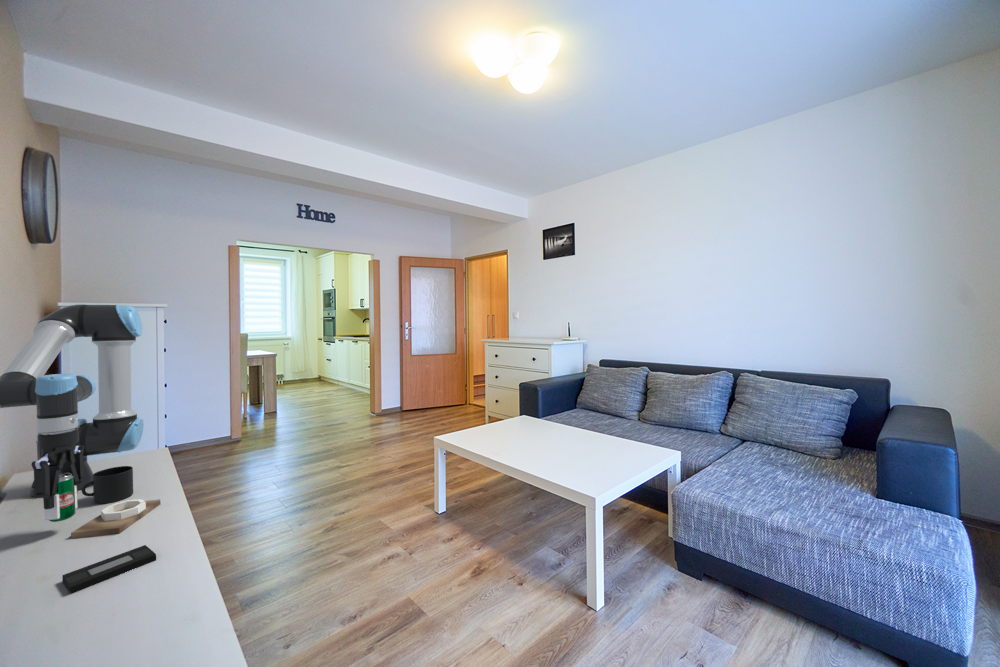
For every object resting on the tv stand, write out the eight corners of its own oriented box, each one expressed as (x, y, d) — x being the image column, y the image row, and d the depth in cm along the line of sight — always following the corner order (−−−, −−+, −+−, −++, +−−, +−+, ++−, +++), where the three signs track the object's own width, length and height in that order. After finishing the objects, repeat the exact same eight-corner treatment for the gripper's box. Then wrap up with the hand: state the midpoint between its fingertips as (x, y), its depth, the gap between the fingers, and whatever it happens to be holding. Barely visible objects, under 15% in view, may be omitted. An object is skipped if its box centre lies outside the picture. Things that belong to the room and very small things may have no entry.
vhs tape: (62, 584, 88) (62, 575, 88) (145, 552, 100) (145, 544, 100) (70, 596, 84) (70, 587, 84) (156, 562, 96) (156, 554, 96)
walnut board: (119, 507, 123) (119, 503, 123) (160, 504, 126) (160, 499, 126) (71, 538, 106) (71, 532, 106) (119, 533, 108) (119, 528, 108)
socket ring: (117, 507, 120) (116, 501, 120) (151, 504, 122) (151, 498, 122) (93, 522, 111) (93, 515, 111) (131, 518, 113) (131, 511, 113)
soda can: (50, 524, 105) (48, 481, 105) (46, 519, 108) (44, 476, 108) (77, 516, 110) (76, 474, 109) (72, 511, 112) (71, 470, 112)
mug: (81, 501, 128) (80, 473, 128) (131, 489, 137) (130, 463, 137) (82, 510, 122) (82, 481, 122) (135, 497, 131) (134, 470, 131)
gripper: (45, 440, 100) (49, 529, 101) (100, 421, 118) (103, 497, 119) (8, 441, 98) (12, 532, 99) (69, 422, 116) (72, 500, 117)
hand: (61, 513), depth 109 cm, fingers closed on soda can, 5 cm apart
